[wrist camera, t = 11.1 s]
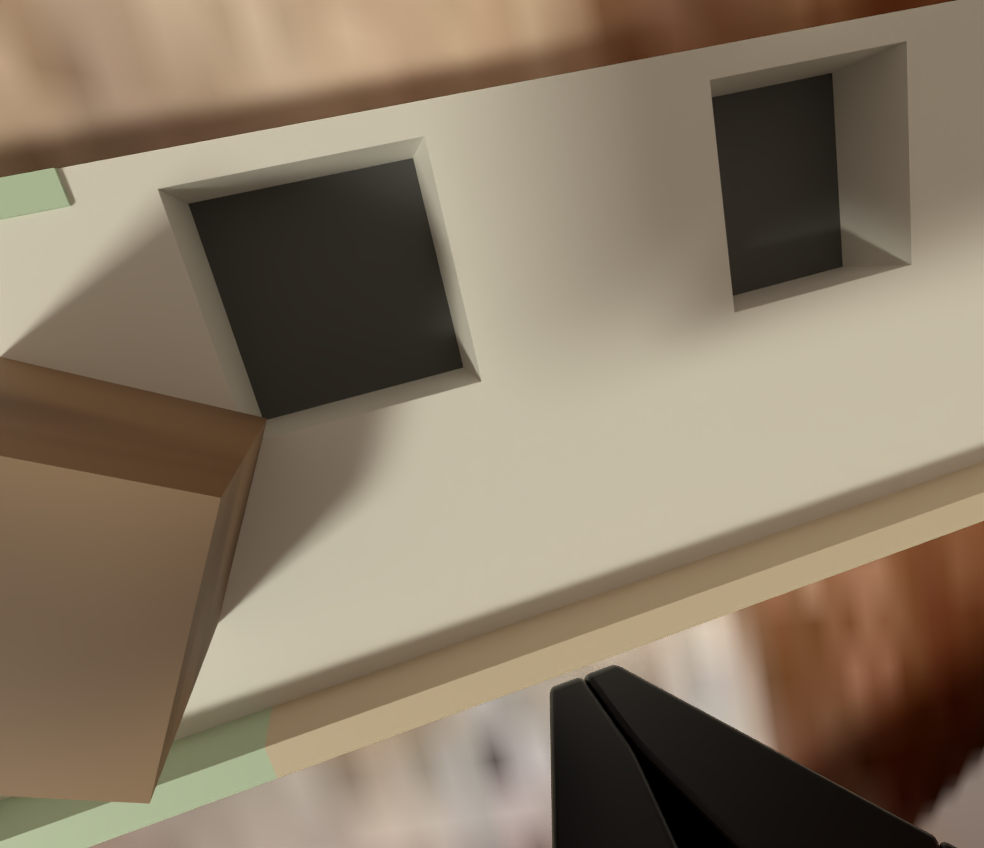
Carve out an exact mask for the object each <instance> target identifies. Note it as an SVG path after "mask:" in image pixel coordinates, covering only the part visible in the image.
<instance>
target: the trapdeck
mask: <svg viewBox="0 0 984 848" xmlns="http://www.w3.org/2000/svg"><path fill="white" fill-rule="evenodd" d="M0 357H3V358H7V359H11V360H16V361H20V362H24V363H29V364H33V365H37V366H42V367H46V368H50V369H55V370H59V371H63V372H68V373H72V374H76V375H81V376H85V377H90V378H94V379H98V380H103V381H107V382H111V383H116V384H120V385H124V386H129V387H133V388H137V389H142V390H146V391H150V392H155V393H159V394H163V395H168V396H172V397H176V398H181V399H185V400H189V401H194V402H198V403H202V404H207V405H211V406H215V407H220V408H224V409H228V410H233V411H237V412H241V413H246V414H250V415H255V416H259V417H263V418H267V422H266V426H265V430H264V434H263V439H262V443H261V447H260V451H259V455H258V459H257V463H256V468H255V472H254V476H253V480H252V484H251V488H250V492H249V497H248V501H247V505H246V509H245V513H244V517H243V521H242V526H241V530H240V534H239V538H238V542H237V546H236V551H235V555H234V559H233V563H232V567H231V571H230V575H229V580H228V584H227V588H226V592H225V596H224V600H223V604H222V609H221V613H220V617H219V621H218V625H217V627H216V630H215V633H214V635H213V638H212V640H211V643H210V646H209V648H208V651H207V654H206V656H205V659H204V662H203V664H202V667H201V669H200V672H199V675H198V677H197V680H196V683H195V685H194V688H193V691H192V693H191V696H190V698H189V701H188V704H187V706H186V709H185V712H184V714H183V717H182V720H181V722H180V725H179V727H178V730H177V733H176V735H175V738H174V741H173V743H172V746H171V749H170V751H169V754H168V756H167V759H166V762H165V764H164V767H163V770H162V772H161V775H160V778H159V780H158V783H157V785H156V788H155V791H154V793H153V796H152V799H151V801H150V804H146V803H127V802H108V801H89V800H69V799H50V798H31V797H12V796H0V848H88V847H91V846H93V845H96V844H99V843H101V842H104V841H107V840H110V839H112V838H115V837H118V836H121V835H123V834H126V833H129V832H132V831H134V830H137V829H140V828H143V827H145V826H148V825H151V824H154V823H156V822H159V821H162V820H165V819H167V818H170V817H173V816H175V815H178V814H181V813H184V812H186V811H189V810H192V809H195V808H197V807H200V806H203V805H206V804H208V803H211V802H214V801H217V800H219V799H222V798H225V797H228V796H230V795H233V794H236V793H239V792H241V791H244V790H247V789H250V788H252V787H255V786H258V785H260V784H263V783H266V782H269V781H271V780H274V779H277V778H280V777H282V776H285V775H288V774H291V773H293V772H296V771H299V770H302V769H304V768H307V767H310V766H313V765H315V764H318V763H321V762H324V761H326V760H329V759H332V758H334V757H337V756H340V755H343V754H345V753H348V752H351V751H354V750H356V749H359V748H362V747H365V746H367V745H370V744H373V743H376V742H378V741H381V740H384V739H387V738H389V737H392V736H395V735H398V734H400V733H403V732H406V731H409V730H411V729H414V728H417V727H419V726H422V725H425V724H428V723H430V722H433V721H436V720H439V719H441V718H444V717H447V716H450V715H452V714H455V713H458V712H461V711H463V710H466V709H469V708H472V707H474V706H477V705H480V704H483V703H485V702H488V701H491V700H493V699H496V698H499V697H502V696H504V695H507V694H510V693H513V692H515V691H518V690H521V689H524V688H526V687H529V686H532V685H535V684H537V683H540V682H543V681H546V680H548V679H551V678H554V677H557V676H559V675H562V674H565V673H567V672H570V671H573V670H576V669H578V668H581V667H584V666H587V665H589V664H592V663H595V662H598V661H600V660H603V659H606V658H609V657H611V656H614V655H617V654H620V653H622V652H625V651H628V650H631V649H633V648H636V647H639V646H642V645H644V644H647V643H650V642H652V641H655V640H658V639H661V638H663V637H666V636H669V635H672V634H674V633H677V632H680V631H683V630H685V629H688V628H691V627H694V626H696V625H699V624H702V623H705V622H707V621H710V620H713V619H716V618H718V617H721V616H724V615H726V614H729V613H732V612H735V611H737V610H740V609H743V608H746V607H748V606H751V605H754V604H757V603H759V602H762V601H765V600H768V599H770V598H773V597H776V596H779V595H781V594H784V593H787V592H790V591H792V590H795V589H798V588H801V587H803V586H806V585H809V584H811V583H814V582H817V581H820V580H822V579H825V578H828V577H831V576H833V575H836V574H839V573H842V572H844V571H847V570H850V569H853V568H855V567H858V566H861V565H864V564H866V563H869V562H872V561H875V560H877V559H880V558H883V557H885V556H888V555H891V554H894V553H896V552H899V551H902V550H905V549H907V548H910V547H913V546H916V545H918V544H921V543H924V542H927V541H929V540H932V539H935V538H938V537H940V536H943V535H946V534H949V533H951V532H954V531H957V530H960V529H962V528H965V527H968V526H970V525H973V524H976V523H979V522H981V521H984V0H956V1H950V2H945V3H940V4H934V5H929V6H924V7H918V8H913V9H907V10H902V11H897V12H891V13H886V14H881V15H875V16H870V17H865V18H859V19H854V20H849V21H843V22H838V23H833V24H827V25H822V26H817V27H811V28H806V29H801V30H795V31H790V32H785V33H779V34H774V35H769V36H763V37H758V38H752V39H747V40H742V41H736V42H731V43H726V44H720V45H715V46H710V47H704V48H699V49H694V50H688V51H683V52H678V53H672V54H667V55H662V56H656V57H651V58H646V59H640V60H635V61H630V62H624V63H619V64H613V65H608V66H603V67H597V68H592V69H587V70H581V71H576V72H571V73H565V74H560V75H555V76H549V77H544V78H539V79H533V80H528V81H523V82H517V83H512V84H507V85H501V86H496V87H491V88H485V89H480V90H475V91H469V92H464V93H458V94H453V95H448V96H442V97H437V98H432V99H426V100H421V101H416V102H410V103H405V104H400V105H394V106H389V107H384V108H378V109H373V110H368V111H362V112H357V113H352V114H346V115H341V116H336V117H330V118H325V119H320V120H314V121H309V122H303V123H298V124H293V125H287V126H282V127H277V128H271V129H266V130H261V131H255V132H250V133H245V134H239V135H234V136H229V137H223V138H218V139H213V140H207V141H202V142H197V143H191V144H186V145H181V146H175V147H170V148H165V149H159V150H154V151H148V152H143V153H138V154H132V155H127V156H122V157H116V158H111V159H106V160H100V161H95V162H90V163H84V164H79V165H74V166H68V167H63V168H58V169H57V168H49V169H44V170H38V171H33V172H28V173H22V174H17V175H12V176H6V177H1V178H0Z"/></svg>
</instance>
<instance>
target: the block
mask: <svg viewBox="0 0 984 848" xmlns="http://www.w3.org/2000/svg"><path fill="white" fill-rule="evenodd" d="M266 422H267V418H263V417H259V416H255V415H250V414H246V413H241V412H237V411H233V410H228V409H224V408H220V407H215V406H211V405H207V404H202V403H198V402H194V401H189V400H185V399H181V398H176V397H172V396H168V395H163V394H159V393H155V392H150V391H146V390H142V389H137V388H133V387H129V386H124V385H120V384H116V383H111V382H107V381H103V380H98V379H94V378H90V377H85V376H81V375H76V374H72V373H68V372H63V371H59V370H55V369H50V368H46V367H42V366H37V365H33V364H29V363H24V362H20V361H16V360H11V359H7V358H3V357H0V796H12V797H31V798H50V799H69V800H89V801H108V802H127V803H146V804H150V801H151V799H152V796H153V793H154V791H155V788H156V785H157V783H158V780H159V778H160V775H161V772H162V770H163V767H164V764H165V762H166V759H167V756H168V754H169V751H170V749H171V746H172V743H173V741H174V738H175V735H176V733H177V730H178V727H179V725H180V722H181V720H182V717H183V714H184V712H185V709H186V706H187V704H188V701H189V698H190V696H191V693H192V691H193V688H194V685H195V683H196V680H197V677H198V675H199V672H200V669H201V667H202V664H203V662H204V659H205V656H206V654H207V651H208V648H209V646H210V643H211V640H212V638H213V635H214V633H215V630H216V627H217V625H218V621H219V617H220V613H221V609H222V604H223V600H224V596H225V592H226V588H227V584H228V580H229V575H230V571H231V567H232V563H233V559H234V555H235V551H236V546H237V542H238V538H239V534H240V530H241V526H242V521H243V517H244V513H245V509H246V505H247V501H248V497H249V492H250V488H251V484H252V480H253V476H254V472H255V468H256V463H257V459H258V455H259V451H260V447H261V443H262V439H263V434H264V430H265V426H266Z"/></svg>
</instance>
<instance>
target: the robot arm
mask: <svg viewBox="0 0 984 848" xmlns="http://www.w3.org/2000/svg"><path fill="white" fill-rule="evenodd" d="M550 736H551V797H552V848H956V847H954V846H952V845H951V844H949V843H946V842H943V843H941V844H940V845H939V844H938V842H937V840H936V838H935V837H934V836H933V835H931V834H929V833H928V832H926V831H924V830H922V829H920V828H918V827H916V826H915V825H913V824H911V823H909V822H907V821H905V820H903V819H902V818H900V817H898V816H896V815H894V814H892V813H891V812H889V811H887V810H885V809H883V808H881V807H879V806H878V805H876V804H874V803H872V802H870V801H868V800H866V799H865V798H863V797H861V796H859V795H857V794H855V793H853V792H852V791H850V790H848V789H846V788H844V787H842V786H840V785H839V784H837V783H835V782H833V781H831V780H829V779H827V778H826V777H824V776H822V775H820V774H818V773H816V772H815V771H813V770H811V769H809V768H807V767H805V766H803V765H802V764H800V763H798V762H796V761H794V760H792V759H790V758H789V757H787V756H785V755H783V754H781V753H779V752H777V751H776V750H774V749H772V748H770V747H768V746H766V745H764V744H763V743H761V742H759V741H757V740H755V739H753V738H752V737H750V736H748V735H746V734H744V733H742V732H740V731H739V730H737V729H735V728H733V727H731V726H729V725H727V724H726V723H724V722H722V721H720V720H718V719H716V718H714V717H713V716H711V715H709V714H707V713H705V712H703V711H701V710H700V709H698V708H696V707H694V706H692V705H690V704H689V703H687V702H685V701H683V700H681V699H679V698H677V697H676V696H674V695H672V694H670V693H668V692H666V691H664V690H663V689H661V688H659V687H657V686H655V685H653V684H651V683H650V682H648V681H646V680H644V679H642V678H640V677H638V676H637V675H635V674H633V673H631V672H629V671H627V670H626V669H624V668H622V667H620V666H616V665H612V666H608V667H606V668H603V669H600V670H598V671H595V672H592V673H589V674H588V675H587V676H586V677H585V679H584V680H583V679H581V678H576V679H573V680H570V681H568V682H565V683H562V684H560V685H557V686H554V687H553V688H552V689H551V691H550Z"/></svg>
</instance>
